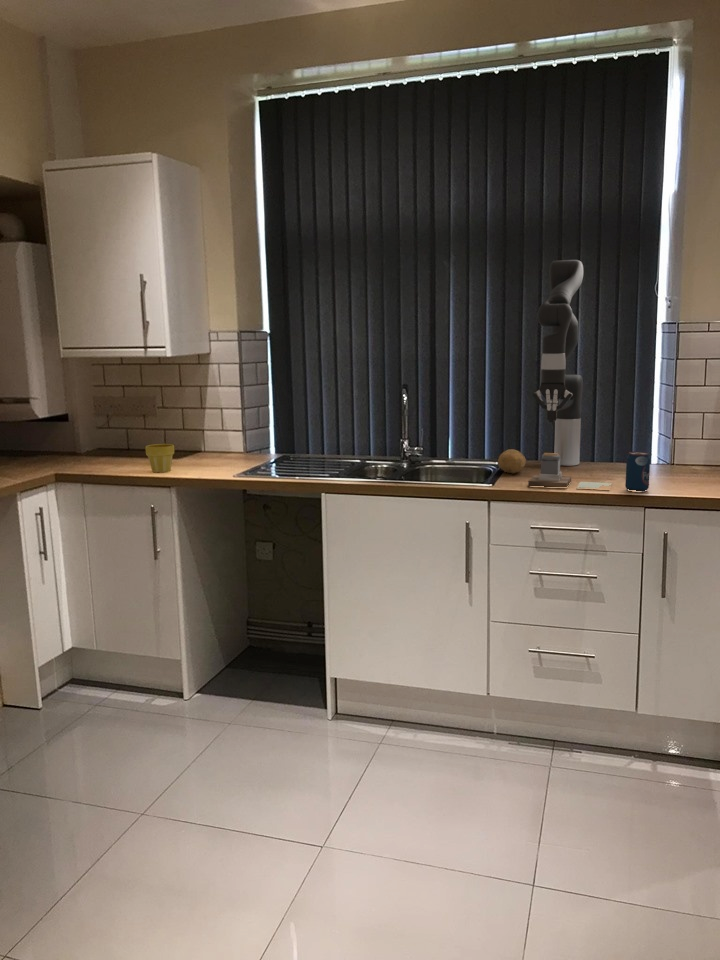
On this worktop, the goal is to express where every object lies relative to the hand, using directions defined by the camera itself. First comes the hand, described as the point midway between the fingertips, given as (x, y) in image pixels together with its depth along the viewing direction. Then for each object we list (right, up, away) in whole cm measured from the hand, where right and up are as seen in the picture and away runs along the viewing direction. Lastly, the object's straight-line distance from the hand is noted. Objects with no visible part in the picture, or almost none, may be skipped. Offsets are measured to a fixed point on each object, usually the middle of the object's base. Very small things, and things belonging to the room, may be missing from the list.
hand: (551, 421), depth 261 cm
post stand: (0, -20, +4) cm, 21 cm away
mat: (+13, -21, -1) cm, 25 cm away
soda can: (+25, -22, -8) cm, 34 cm away
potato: (-8, -16, +26) cm, 32 cm away
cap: (0, -16, +3) cm, 17 cm away
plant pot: (-136, -16, +42) cm, 143 cm away
